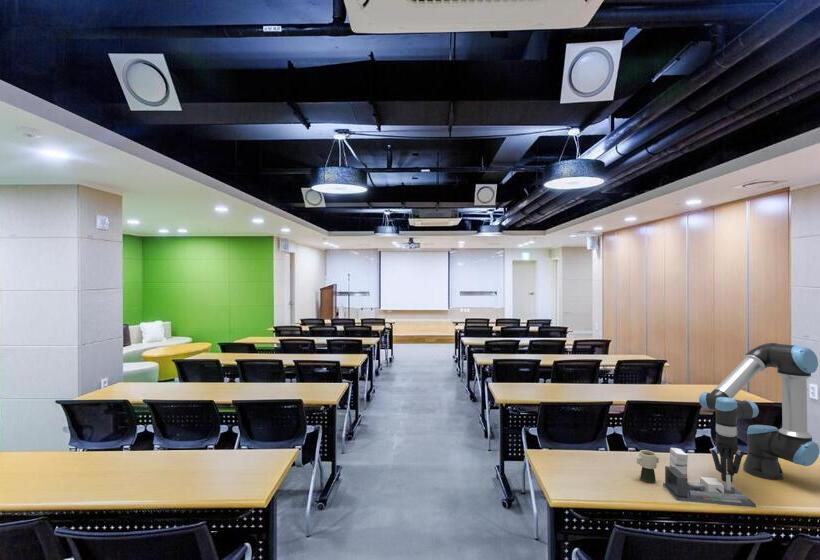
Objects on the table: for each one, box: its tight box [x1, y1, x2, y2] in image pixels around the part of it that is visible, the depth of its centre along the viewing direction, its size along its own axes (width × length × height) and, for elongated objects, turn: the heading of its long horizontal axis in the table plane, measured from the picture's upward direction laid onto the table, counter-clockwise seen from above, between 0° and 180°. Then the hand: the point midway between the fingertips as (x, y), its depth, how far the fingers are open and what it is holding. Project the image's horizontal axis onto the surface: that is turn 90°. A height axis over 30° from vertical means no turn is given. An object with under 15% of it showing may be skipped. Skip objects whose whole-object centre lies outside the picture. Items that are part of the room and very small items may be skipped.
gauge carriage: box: [688, 476, 724, 493], centre depth 182 cm, size 12×11×5 cm
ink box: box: [669, 447, 689, 478], centre depth 204 cm, size 9×5×12 cm, turn 168°
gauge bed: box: [662, 465, 757, 508], centre depth 184 cm, size 30×14×9 cm, turn 81°
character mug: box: [636, 449, 660, 483], centre depth 198 cm, size 11×7×13 cm, turn 97°
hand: (727, 488), depth 183 cm, fingers closed
